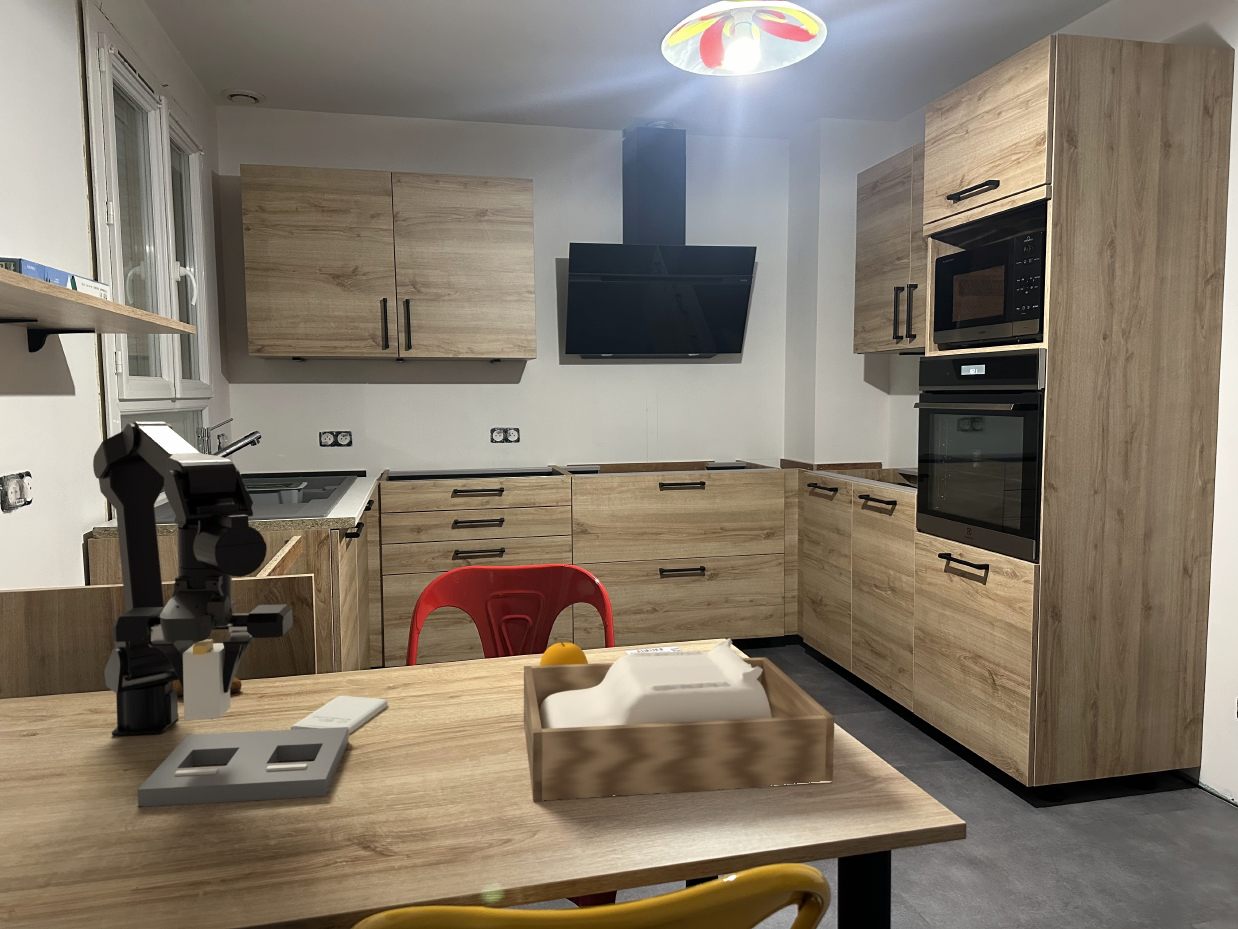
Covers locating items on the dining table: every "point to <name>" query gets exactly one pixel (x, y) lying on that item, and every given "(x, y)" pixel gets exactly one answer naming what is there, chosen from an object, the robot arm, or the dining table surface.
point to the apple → (563, 655)
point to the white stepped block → (664, 691)
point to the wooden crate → (675, 743)
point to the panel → (246, 767)
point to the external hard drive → (343, 713)
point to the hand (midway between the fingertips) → (207, 692)
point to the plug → (204, 681)
